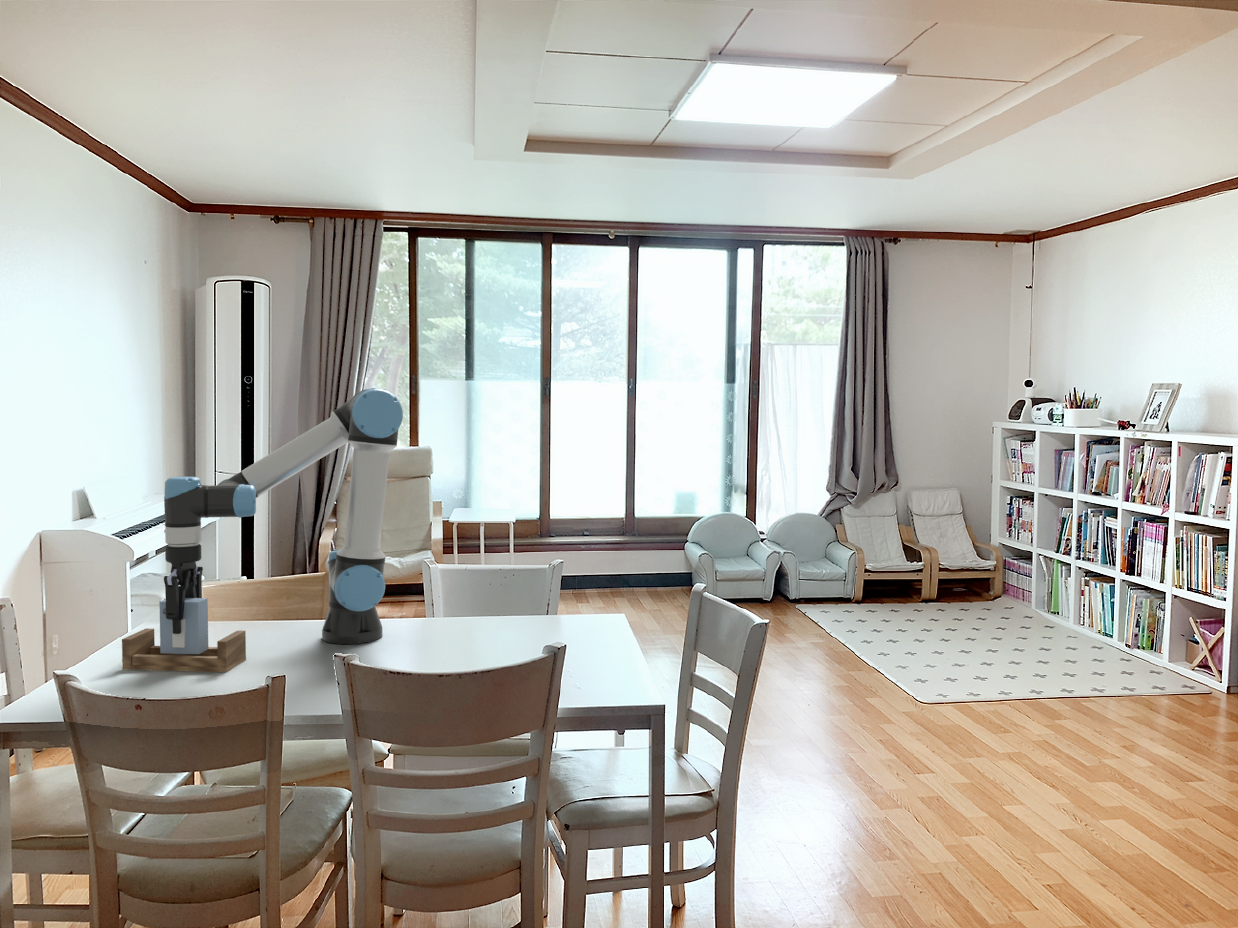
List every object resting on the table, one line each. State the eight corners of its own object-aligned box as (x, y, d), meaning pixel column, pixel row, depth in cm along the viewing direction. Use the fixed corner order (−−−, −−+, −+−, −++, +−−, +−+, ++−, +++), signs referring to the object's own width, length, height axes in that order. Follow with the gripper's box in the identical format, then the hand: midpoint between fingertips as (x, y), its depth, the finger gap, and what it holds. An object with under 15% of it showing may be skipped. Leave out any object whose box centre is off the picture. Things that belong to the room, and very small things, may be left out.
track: (245, 659, 221) (245, 630, 220) (226, 672, 211) (226, 641, 210) (146, 657, 222) (145, 628, 221) (122, 669, 212) (121, 639, 211)
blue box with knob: (208, 648, 218) (207, 598, 217) (196, 655, 213) (195, 603, 212) (170, 648, 219) (169, 597, 218) (158, 654, 213) (157, 602, 212)
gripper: (186, 538, 223) (188, 634, 225) (146, 549, 206) (148, 653, 207) (217, 538, 223) (218, 634, 225) (179, 550, 206) (181, 654, 207)
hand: (184, 643), depth 216 cm, fingers closed on blue box with knob, 4 cm apart
